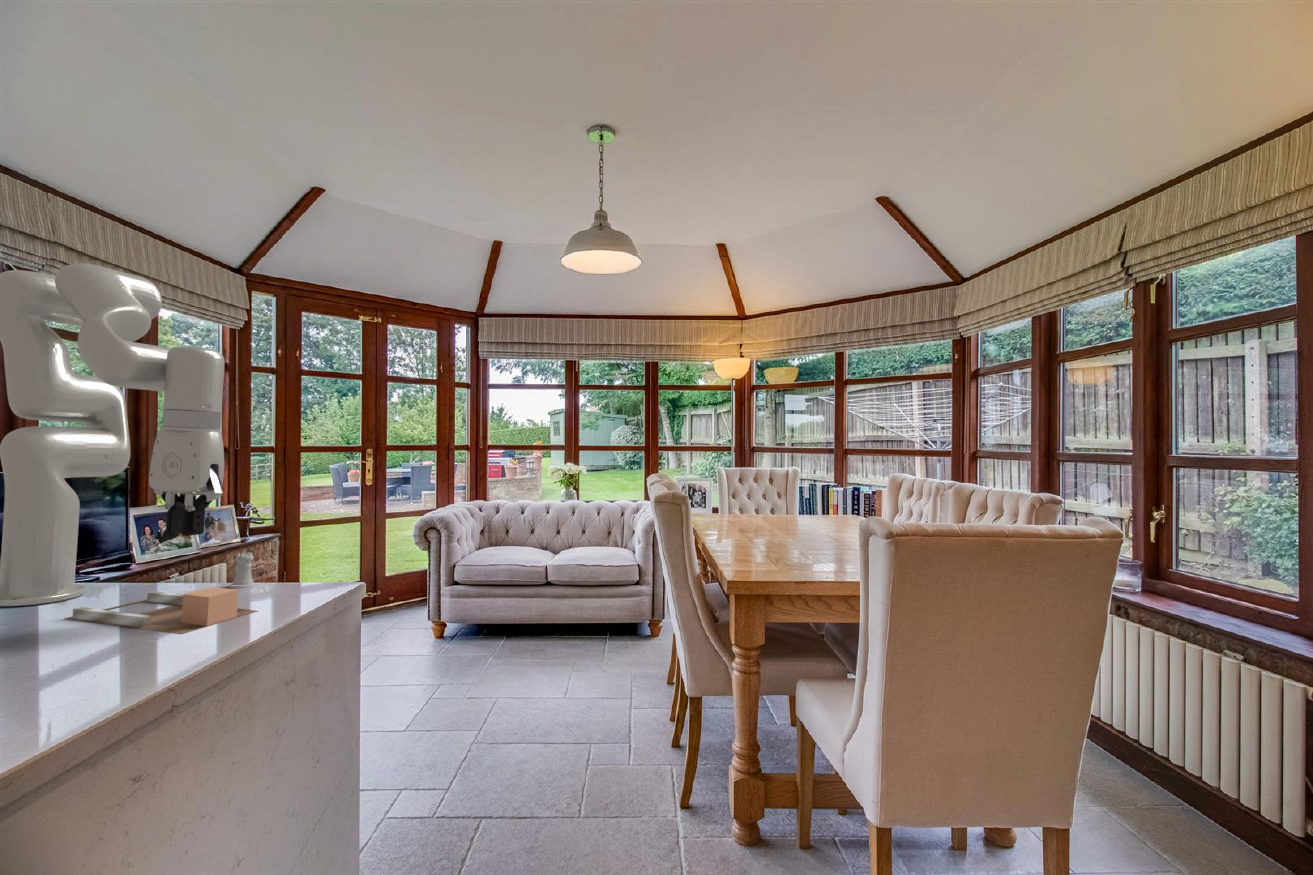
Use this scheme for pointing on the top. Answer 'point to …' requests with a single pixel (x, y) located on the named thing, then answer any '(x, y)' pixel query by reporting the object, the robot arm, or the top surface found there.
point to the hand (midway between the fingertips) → (185, 533)
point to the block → (209, 606)
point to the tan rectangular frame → (147, 615)
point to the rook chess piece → (243, 571)
